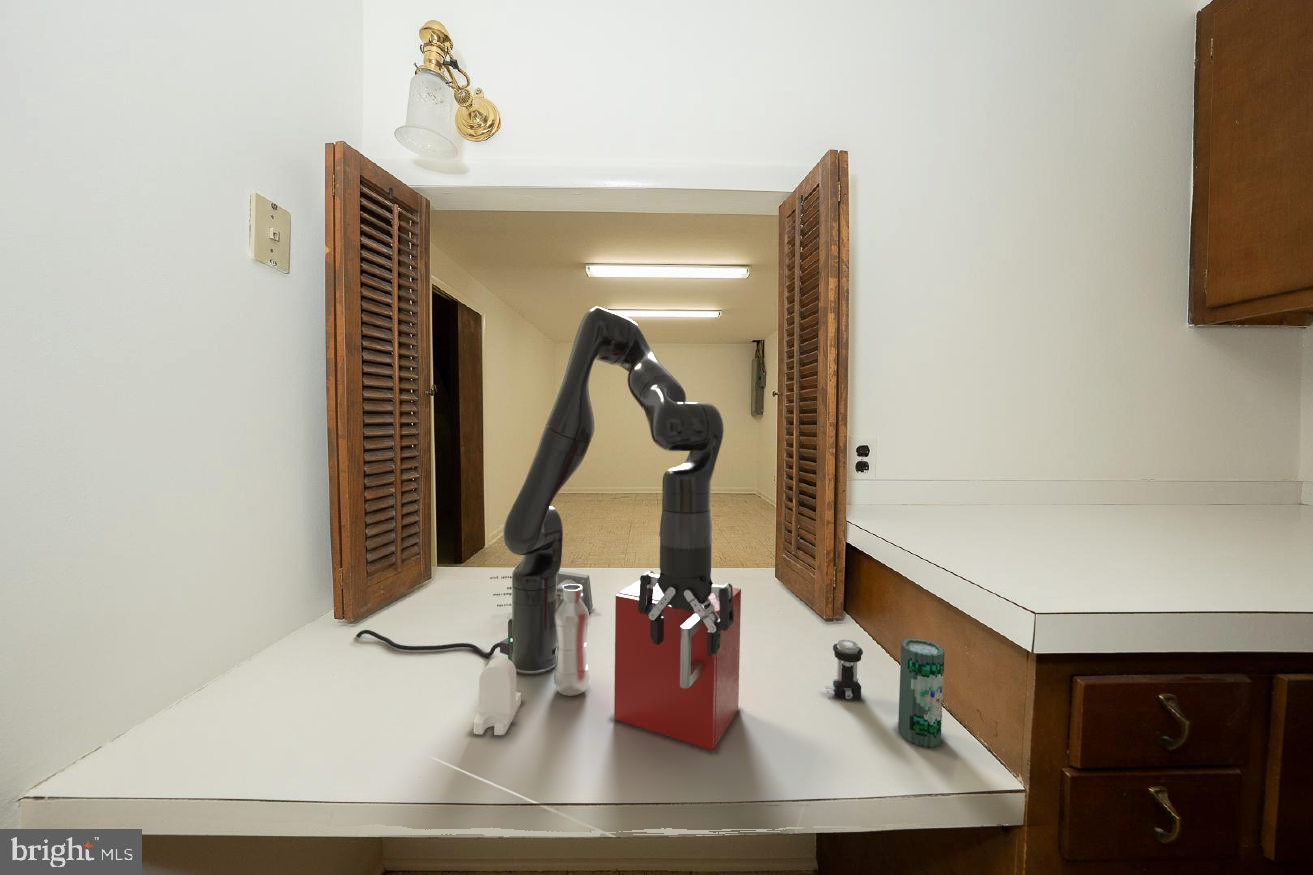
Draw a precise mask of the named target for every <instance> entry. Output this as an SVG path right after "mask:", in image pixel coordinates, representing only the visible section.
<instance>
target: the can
mask: <svg viewBox="0 0 1313 875" xmlns="http://www.w3.org/2000/svg"><path fill="white" fill-rule="evenodd" d="M945 653H946V651H945V650H944V648H943V647H942V646H941V645H939V644H937V643H934V642H932V641H928V640H926V639H918V638H908V639H903V640H902V641H901V644H900V667H899V669H900V670H899V694H898V719H897V731H898V734H900V737H902V738H903V739H904V740H906V741H907V742H909V743H912V744H914V745H915V746H920V747H922V746H923V747H924V748H925V747H930V748H932V747H935V746H939V745H940V742H942V723H943V722H942V721H943V698H944V696H943V695H944V679H945V678H944V677H945V676H944V674H945V656H946V655H945Z"/></svg>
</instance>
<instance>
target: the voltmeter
mask: <svg viewBox="0 0 1313 875" xmlns="http://www.w3.org/2000/svg"><path fill="white" fill-rule="evenodd" d="M489 579H490V580H493V579H494V580H496V579H497V580H498V579H499V576H498V575H496V576H491V577H489ZM502 579H503V580H504V579H512V575H509V576H508V575H507V576H502ZM569 584H577V585H580V586H582V598H581V600H582V602H583V603H584V604H585V606H586V608H587V609H588V612H591V611H592V609H593V607H594V605H593V596H592V588H591V587H592V586H591V578H590V575H589V574H584V573H577V572H572V571H571V572H570V571H563V570H559V573H558V577H557V607H558V606H559V604H560V603H561V602H562V600H563V598H562V588H563V586H565V585H569ZM509 589H510V590H512V586H506V590H509ZM506 595H507V596H512V592H504V593H503V596H506ZM492 596H494V597H495V596H497V597H498V596H501V593H492ZM506 606H507V607H512V603H505V604H498V607H506Z"/></svg>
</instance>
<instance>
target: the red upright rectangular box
mask: <svg viewBox="0 0 1313 875" xmlns="http://www.w3.org/2000/svg"><path fill="white" fill-rule="evenodd" d="M639 587H640V580H637V581H636V582H634V583H633V584H631V585H630V586H628V587H626V588H624V589H623V590H621V591H619V592H618V594H622V595H627V596H632V597H637V598H639ZM662 596H663V593H662V591H661V590H660V588H659V586H658V584H656V587H654V589H653V601H659V600H660V599H661V597H662ZM709 599H710V601H711V602H712V604H713V605H714V607H715V612H716V613H717V615H718V616H719V618H720V609H719V601H717V600H716V597H715V594H714V593H711V595H710V596H709ZM702 606H703V605H702ZM741 606H742V589H741V588H737V587H733V611H734V623H733V624H732V625H731V626H730V627H729V628H728V630H726V631H724V630H721V638H720V649H719V651H718V652H717V653H716V694H715V742H714V747H716V746H717V744H718V743H719V741H720V739H721V738H722V737H723V735H724V733H725V731H726V730H727V728H728V727H729V726H730V723H731V722H732V720H733V719H734V718H735V715H736V714H737V712H738V711H739V700H740V699H739V694H740V658H741V657H740V655H741V654H740V653H741V651H740V650H741V610H742V608H741ZM703 608H704V606H703Z"/></svg>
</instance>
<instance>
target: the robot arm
mask: <svg viewBox="0 0 1313 875" xmlns="http://www.w3.org/2000/svg"><path fill="white" fill-rule="evenodd" d="M595 361H599V362H603V363H606V364H607V365H612V366H617V367H620V368H622V369H623V370H625V371H627V372H628V373H627V382H626V383H627V386H628V387H627V388H628V390H629V392H630V394H631V396H632V397H633V399H634V400H635V401H636V403H637V404H638V405H639V407H640V408H641V409H642V410H643V412H644V414H645V418H646V421H647V425H648V428H649V433H650V437H651V439H652V441H653V443H654V444H655V445H656V446H657V447H658V448H660V449H662V450H663V451H666V452H671V453H672V452H674V453H675V452H688V454H687V457H686V459H685V461H684V462H683V463H682V464H681V465H678V466H674V467H671V468H669V469H667V470H666V471H665V472H664V473H663V475H662V484H661V485H662V486H661V489H662V490H661V514H660V515H661V516H660V524H659V534H658V536H659V571H660V573H659V574H655V573H654V572H653V570H649V571H646V572H644V573H643V574H641V575H640V577H639V581H640V587H639V603H638V611H639V613H640V614H646V615H647V616H649V618H650V637H651V640H653V644H655V645H659V644H660V643H662V642H663V639H664V617H662V613H663V612H664V611H665V610H666V608H667V607H668V606H669V605H671V606H672V608H673V609H684V610H686V611H689V612H693V611H695V612H696V614H697V615H698V617H699V618H700V619H701V620H703V622H704V623H705V625H706V626H707V628H708V630H709V631H708V632H707V656H708V657H713V656H714V655H715V654H716V653H717V652H718V651H719V649H720V638H721V630H724V631H726V630H728V628H729V627H730V626H731V625H732V624H733V623H734V611H733V588H734V586H733V585H732V584H731V583H729V582H726V583H725V584H714V583H713V580H712V546H713V545H712V543H713V542H712V539H713V533H712V532H713V523H712V516H711V499H712V498H711V493H712V492H711V490H712V489H711V488H712V485H711V484H712V479H713V475H714V472H715V468H716V465H717V461H718V457H719V454H720V451H721V450H720V449H721V448H722V447H721V446H722V444H723V440H724V435H725V434H724V433H725V425H724V421H723V417H722V414H721V412H720V410H719V409H718V408H717V406H715V405H713V404H712V403H708V402H687V395H686V391H685V389H684V387H683V386H682V384H681V383H680V382H679V381H678V380H677V379H676V378H675V377H674V376H673V375H672V374H671V372H670V371H669V370H667V368H666V367H665V366H664V365H663V364H662V363H661V362H660V360H659V359H658V358H657V356H656V355H655V353H654V351H653V349H652V348H651V346H650V344H649V342H648V340H647V339H646V337H645V334H644V333H643V331H642V330H641V328H640V327H639V326H638V324H637V323H636V322H635V321H633V320H632V319H630V318H628V317H626V316H623V315H620V314H618V313H615V312H613V311H611V310H608V309H605V308H602V307H599V306H594V307H591V308H590V309H588V310H587V312H586V313H585V314H584V316H583V317H582V319H581V321H580V324H579V325H578V328H577V332H576V335H575V338H574V341H573V344H572V348H571V353H570V355H569V359H568V362H567V366H566V369H565V373H564V377H563V379H562V382H561V385H560V389H559V391H558V393H557V396H556V399H555V402H554V403H553V407H552V409H551V412H550V414H549V416H548V419H547V421H546V424H545V427H544V428H543V431H542V434H541V436H540V439H539V443H538V446H537V448H536V452H535V453H534V454H535V455H534V457H533V460H532V462H531V464H530V467H529V469H528V472H527V474H526V477H525V480H524V482H523V484H522V486H521V488H520V490H519V493H518V495H517V496H516V498H515V500H514V502H513V504H512V506H511V509H510V510H509V512H508V515H507V517H506V519H505V522H504V525H503V541H504V544H505V547H506V548H507V550H508V551H509V552H510V553H512V554H513V555H517V556H523V557H522V559H521V561H520V563H519V564H517V566H515V567H514V569H513V570H512V574H511V577H512V578H511V588H512V589H511V593H512V594H511V618H509V619H508V621H507V637H506V638H505V639H503V640H500V641H499V642H497V643H495V644H493V645H492V646H491V647H490V650H489V651H488V652H485V651H483V650H482V649H481V648H480V647H478V646H477V645H475V644H473V643H469V642H455V643H447V644H438V645H405V644H400V643H396V642H395V641H393V640H392V639H390V638H388V637H386V636H384V635H382V634H379V633H378V632H376V631H373V630H371V629H362V630H360V631H359V632H357V634H356V635H355V637H357V638H360V637H362V636H363V635H369V636H372V637H373V638H376V639H377V640H379V641H382V642H384V643H386V644H388V645H389V646H390V647H392V648H393V649H397V650H402V651H418V652H419V651H441V650H449V649H457V648H458V649H459V648H465V649H472V650H474V651H475V652H476V653H477V654H478V655H480V656H481V657H483V658H490V657H492V656H493V655H494V653H495V651H496V650H497V649H498V648H499V653H500V654H503V655H507V659H509V660H510V661H512V663H513V664H514V666H515V668H516V674H517V673H518V674H520V675H521V674H522V675H539V674H543V673H547V672H549V671H551V670H553V669H555V668H556V663H557V651H558V650H557V634H556V627H555V619H554V614H555V611H556V609H557V577H558V573H559V571H561V568H562V560H563V546H564V545H563V542H564V528H563V527H564V526H563V521H562V518H561V516H560V513H559V512H558V510H557V509H556V508H555V507H553V505H552V504H553V501H554V500H555V498H556V496H557V495H558V493H559V492H560V491H561V489H562V488H563V487H564V486H565V485H566V483H567V482H569V480H570V479H571V477H572V476H573V475H574V474H575V473H576V471H577V470H578V469H579V467H580V466H581V465H582V462H583V460H584V459H585V457H586V454H587V452H588V450H589V447H590V444H591V443H592V439H593V437H594V434H595V429H596V428H595V427H596V426H595V418H594V417H595V416H594V412H593V411H594V410H593V407H592V406H593V405H592V401H591V396H590V387H589V386H590V385H589V383H590V377H591V373H592V368H593V366H594V363H595ZM656 584H658V586H659V588H660V590H661V591H662V593H663V596H662V597H661V599H660V600H659V601H658V602H657V604H656V605H655V606H654V605H652V604H653V589H654V587H656ZM711 593H714V594H715V597H716V600H717V601H719V609H720V618H719V616H718V615H717V613H716V612H715V607H714V605H713V604H712V602H711V601H710V599H709V596H710V595H711ZM702 605H703V606H704V608H703V606H702Z"/></svg>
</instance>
